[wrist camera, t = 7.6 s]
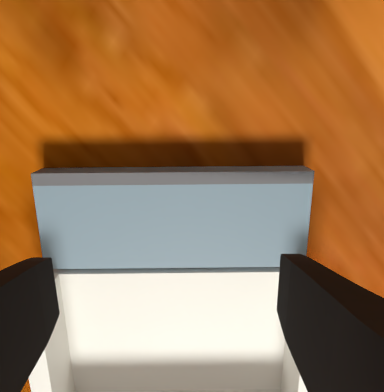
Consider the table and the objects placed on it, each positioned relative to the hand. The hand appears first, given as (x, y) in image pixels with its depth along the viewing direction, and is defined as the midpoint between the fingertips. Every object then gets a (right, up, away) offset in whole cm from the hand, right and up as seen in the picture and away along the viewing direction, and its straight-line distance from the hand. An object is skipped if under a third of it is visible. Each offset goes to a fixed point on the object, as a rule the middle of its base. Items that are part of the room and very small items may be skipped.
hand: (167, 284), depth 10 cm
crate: (0, -5, +9) cm, 10 cm away
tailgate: (0, -1, +6) cm, 7 cm away
